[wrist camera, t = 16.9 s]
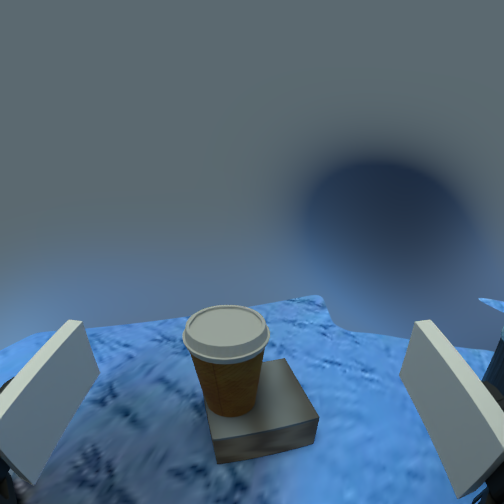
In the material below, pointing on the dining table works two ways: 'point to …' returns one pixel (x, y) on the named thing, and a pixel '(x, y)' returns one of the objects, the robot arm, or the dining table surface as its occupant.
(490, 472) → the robot arm
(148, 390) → the dining table surface
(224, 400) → the disposable coffee cup
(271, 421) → the block
